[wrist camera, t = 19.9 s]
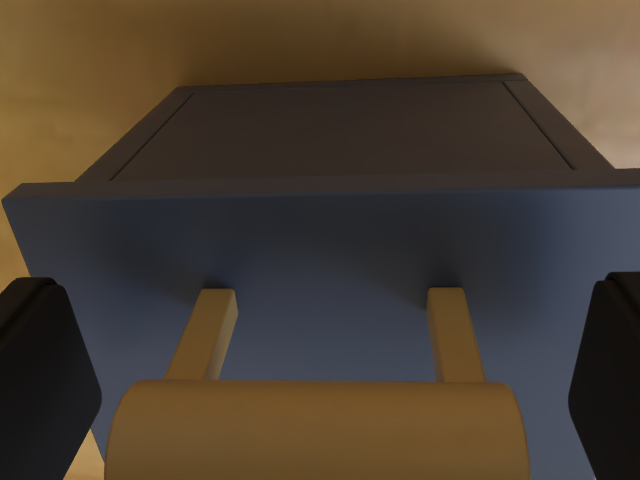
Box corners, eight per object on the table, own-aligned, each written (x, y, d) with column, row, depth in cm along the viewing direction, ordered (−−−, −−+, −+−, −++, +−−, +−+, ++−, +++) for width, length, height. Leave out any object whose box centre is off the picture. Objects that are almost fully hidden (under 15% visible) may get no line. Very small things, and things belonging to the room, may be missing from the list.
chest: (176, 86, 20) (39, 211, 12) (522, 72, 19) (649, 199, 11) (234, 397, 28) (177, 607, 20) (481, 400, 27) (535, 623, 19)
